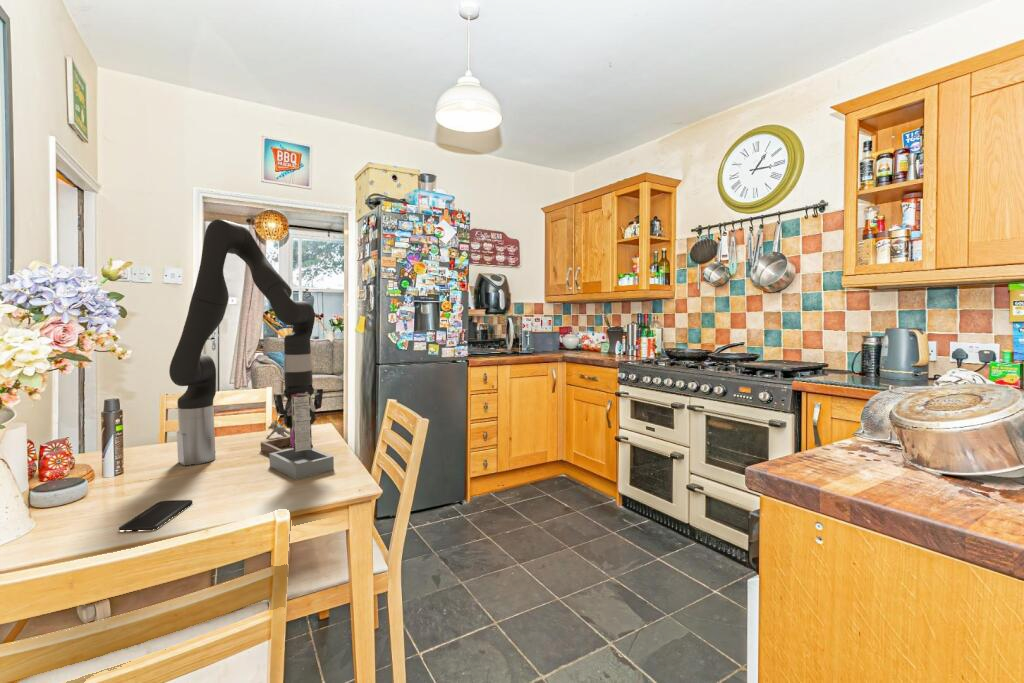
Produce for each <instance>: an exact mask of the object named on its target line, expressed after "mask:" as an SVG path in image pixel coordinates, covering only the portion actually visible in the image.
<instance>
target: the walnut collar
mask: <svg viewBox="0 0 1024 683" xmlns="http://www.w3.org/2000/svg"><path fill="white" fill-rule="evenodd" d="M287 445H291V443H290V435H289V436H288V437H284V436H283V437H279V438H275V439H270V440H265V441H260V451H261V453H264V454H266V455H268V454H269V453H274V452H278V451H283V450H284V449H281V448H284V447H283V446H286V447H288V446H287ZM313 445H314V444H312V448H314V446H313ZM291 446H292V445H291ZM291 446H290V447H291ZM279 447H281V448H279Z"/></svg>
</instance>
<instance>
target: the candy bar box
mask: <svg viewBox="0 0 1024 683" xmlns="http://www.w3.org/2000/svg"><path fill="white" fill-rule="evenodd" d="M310 398H311V397H310V395H309V393H299V394H293V395H291V402H290V404H291V403H292V413H291V416H292V428H289V432H290V435H289V436H290V443H291V445H292V447H291V448H293V449H294V451H295V452H302V451H308V450H312V445H313V444H312V441H313V439H312V424H311V406H310Z"/></svg>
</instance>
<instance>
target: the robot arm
mask: <svg viewBox="0 0 1024 683" xmlns="http://www.w3.org/2000/svg"><path fill="white" fill-rule="evenodd" d="M228 254H231V255H232V254H233V255H236V256H237V257H239V258H240V259H241V260H242V261H243V262H244V263H245V264H246V265H247V267H248V268H249V270H250V275H251V278H252V281H253V283H254V284H255V286H256V288H257V289H258V290H259V292H261V294H262V295H263V296H264V297H265V298H266V299H267V300H268V301H269V304H270V306H271V308H272V311H273V312H274V314H275V317H276V318H277V319H278V320H279V321H280V322H281V323H283V325H286V326H292V329H291V332H290V333H288V334H287V335H285V336H284V339H283V343H284V344H283V347H284V349H283V350H284V357H283V358H284V359H283V375H284V380H283V381H284V390H283V392H280V393H274V394H273V400H274V405H275V406H274V407H275V411H276V413H277V414H278V415H282V416H283V419H284V420H283V422H284V424H283V425H284V426H285V427H286V428H287V429H290V428H292V416H291V413H292V403H291V404H290V402H291V395H293V394H299V393H309V395H310V406H311V425H314V423H315V422H316V410H318V409H321V408H322V404H323V396H324V395H323V394H324V389H323V388H320V387H315V388H314V386H313V383H314V382H313V361H312V360H313V359H312V353H311V351H312V350H311V349H312V348H311V338H312V335H313V334H312V333H313V331H314V330H313V329H314V325H315V320H316V313H315V310H314V307H313V305H312V304H311V303H310V302H308V301H305V300H293V299H292V298H291V297H292V294H293V291H292V288H291V287H290V285H289V284H288V283H287V282H286V281H285V279H283V277H282V276H281V275H280V274H279V273H278V272H277V270H276V269H275V267H273V265H271V262H270V261H269V260H268V259H267V257H266V256H265V254H264V252H263V251H262V249H261V248H260V246H259V245H258V243H257V241H256V239H255V238H254V235H252V233H251V232H250V231H249V229H248V228H247V227H246V226H244V225H243V224H239V223H236V222H233V221H230V220H225V219H222V218H221V219H219V218H217V219H213V220H212V221H211V222H209V224H208V226H207V227H206V229H205V232H204V238H203V243H202V250H201V256H200V257H201V259H200V263H199V264H200V265H199V269H198V273H197V276H196V281H195V285H194V289H193V292H192V294H191V300H190V303H189V307H188V311H187V316H186V319H185V322H184V325H183V329H182V332H181V336H180V338H179V341H178V344H177V346H176V349H175V351H174V354H173V356H172V359H171V361H170V365H169V370H168V371H169V372H168V373H169V377H170V380H171V381H172V383H174V384H175V385H176V386H179V387H187V389H186V391H185V392H184V393H183V394H182V395H181V396H180V397H179V398H177V418H178V420H177V421H178V422H177V423H178V431H177V432H176V438H177V439H176V445H177V461H178V463H179V462H180V463H179V464H181V465H182V466H183V465H184V466H185V465H186V466H192V465H191V464H195V465H201V463H202V464H206V463H209V462H212V461H214V460H215V459H216V458H217V456H216V452H217V451H216V436H215V435H216V433H215V414H214V413H215V412H214V408H215V407H214V399H215V395H216V391H217V368H216V365H215V364H216V363H215V362H214V359H213V358H212V357H211V356H210V355H209V354H206V353H202V352H203V349H204V347H205V344H206V343H207V341H208V340H209V338H211V336H212V335H213V334H214V332H215V331H216V329H218V327H219V325H220V324H221V323H222V321H223V320H224V318H225V315H226V310H227V306H228V303H229V298H230V297H229V289H228V287H227V283H226V280H225V276H224V274H225V273H224V266H225V263H226V259H227V255H228ZM312 395H314V399H313V400H312V398H311V397H312ZM285 398H286V399H287V400H286V402H285V404H284V402H283V400H284V399H285ZM284 405H285V406H284ZM205 462H206V463H205ZM186 466H185V467H186Z"/></svg>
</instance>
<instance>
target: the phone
mask: <svg viewBox="0 0 1024 683" xmlns="http://www.w3.org/2000/svg"><path fill="white" fill-rule="evenodd" d="M192 503H193V500H192V499H182V500H181V499H179V500H178V499H177V500H173V499H172V500H162V501H159V502H156V503H155V504H154V505H152V506H151V507H148V508H147V509H146V510H144V511H143V512H141V513H139V514H138V515H136V516H135V517H133V518H131V519H130V520H128V521H127V522H125V523H123V524H122V525H120V526H119V527H118V531H119V530H133V531H137V530H153V529H157V528H158V527H160V526H161V525H162V524H164V523H165V522H167V521H168V520H169V519H171V518H172V517H174V516H176V515H177V514H178V513H179V512H181V511H182V510H184V509H185V508H187V507H188V506H189V507H191V506H192V505H193V504H192ZM191 504H192V505H191ZM190 505H191V506H190ZM189 507H188V508H189ZM188 508H187V509H188ZM185 510H186V509H185ZM185 510H184V511H185ZM182 512H183V511H182ZM182 512H181V513H182ZM178 515H179V514H178ZM178 515H177V516H178ZM177 516H176V517H177ZM174 518H175V517H174ZM171 520H172V519H171ZM167 523H168V522H167ZM164 525H165V524H164ZM160 528H161V527H160ZM157 530H158V529H157Z"/></svg>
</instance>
